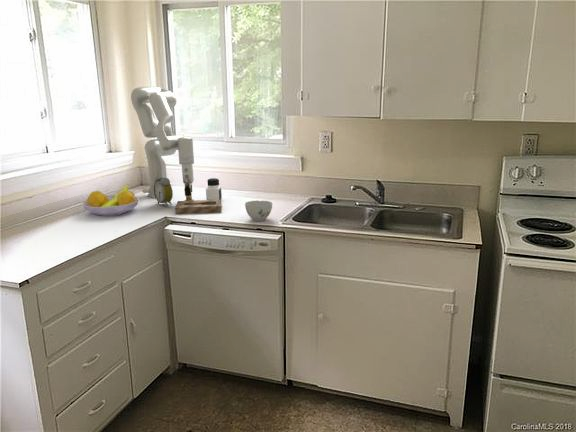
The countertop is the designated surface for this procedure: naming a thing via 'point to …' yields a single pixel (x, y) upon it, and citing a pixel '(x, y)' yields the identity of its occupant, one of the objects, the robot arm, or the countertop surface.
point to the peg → (189, 198)
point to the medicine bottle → (213, 190)
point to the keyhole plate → (198, 206)
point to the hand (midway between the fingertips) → (188, 193)
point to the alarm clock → (163, 190)
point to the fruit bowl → (110, 202)
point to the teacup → (258, 209)
